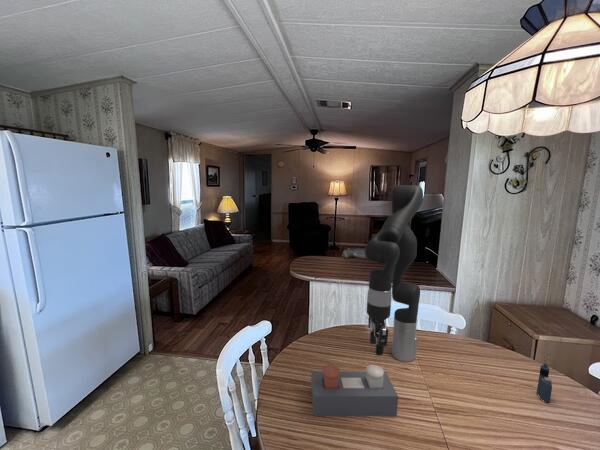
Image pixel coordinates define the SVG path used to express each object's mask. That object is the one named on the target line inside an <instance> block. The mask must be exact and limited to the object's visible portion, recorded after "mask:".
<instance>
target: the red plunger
mask: <svg viewBox="0 0 600 450" xmlns="http://www.w3.org/2000/svg"><path fill="white" fill-rule="evenodd" d="M322 372H323V386H324V388H338V377H339V372H340V368H339V367H338V366H337V365H335V364H326V365H325V364H324V366H323V368H322Z"/></svg>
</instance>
